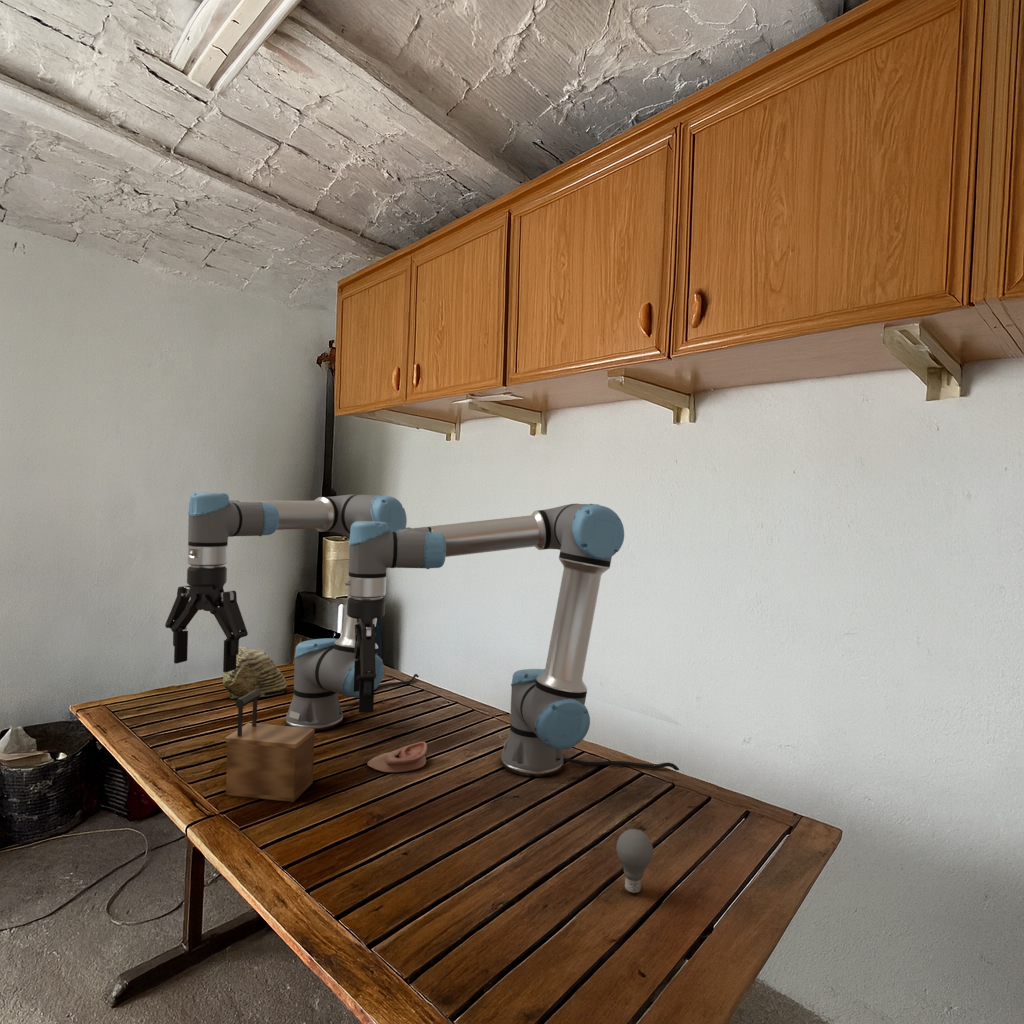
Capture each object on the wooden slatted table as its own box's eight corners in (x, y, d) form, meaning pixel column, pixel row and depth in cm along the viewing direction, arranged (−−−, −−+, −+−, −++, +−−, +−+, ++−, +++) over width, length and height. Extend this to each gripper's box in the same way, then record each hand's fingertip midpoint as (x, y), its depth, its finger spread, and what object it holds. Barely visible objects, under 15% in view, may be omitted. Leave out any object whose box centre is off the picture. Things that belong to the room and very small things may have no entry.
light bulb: (610, 879, 108) (613, 822, 108) (644, 879, 109) (647, 822, 109) (619, 902, 102) (622, 840, 102) (655, 901, 103) (658, 840, 103)
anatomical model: (361, 752, 147) (381, 734, 159) (361, 769, 148) (381, 750, 159) (415, 759, 145) (432, 741, 156) (415, 776, 145) (431, 757, 156)
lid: (224, 742, 133) (226, 699, 132) (248, 726, 142) (249, 687, 142) (295, 748, 131) (297, 706, 131) (314, 732, 140) (316, 692, 140)
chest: (225, 794, 133) (227, 742, 133) (249, 776, 142) (250, 727, 142) (293, 802, 131) (295, 748, 131) (312, 782, 140) (314, 732, 140)
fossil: (218, 695, 195) (220, 647, 195) (278, 685, 208) (279, 640, 207) (228, 703, 189) (230, 653, 188) (289, 692, 201) (290, 645, 201)
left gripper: (148, 562, 134) (145, 662, 134) (240, 572, 125) (237, 679, 125) (178, 560, 141) (175, 654, 141) (267, 568, 132) (264, 669, 132)
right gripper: (344, 588, 139) (340, 683, 140) (351, 608, 116) (347, 723, 116) (378, 588, 142) (375, 682, 142) (393, 607, 118) (389, 720, 118)
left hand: (204, 666), depth 133 cm, fingers open, 13 cm apart
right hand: (362, 700), depth 129 cm, fingers open, 13 cm apart
